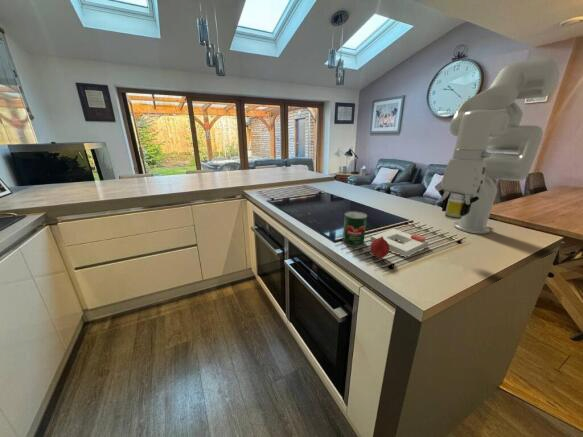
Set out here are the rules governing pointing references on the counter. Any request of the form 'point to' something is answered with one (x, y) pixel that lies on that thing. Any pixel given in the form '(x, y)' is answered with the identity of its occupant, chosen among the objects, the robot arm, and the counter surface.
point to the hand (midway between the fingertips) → (454, 212)
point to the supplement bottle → (455, 206)
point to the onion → (379, 247)
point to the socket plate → (411, 241)
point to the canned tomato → (354, 228)
